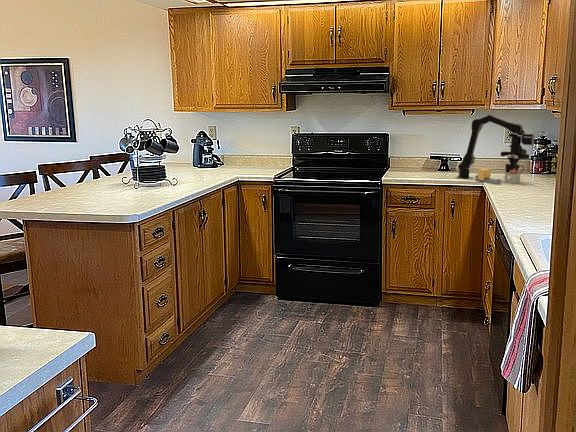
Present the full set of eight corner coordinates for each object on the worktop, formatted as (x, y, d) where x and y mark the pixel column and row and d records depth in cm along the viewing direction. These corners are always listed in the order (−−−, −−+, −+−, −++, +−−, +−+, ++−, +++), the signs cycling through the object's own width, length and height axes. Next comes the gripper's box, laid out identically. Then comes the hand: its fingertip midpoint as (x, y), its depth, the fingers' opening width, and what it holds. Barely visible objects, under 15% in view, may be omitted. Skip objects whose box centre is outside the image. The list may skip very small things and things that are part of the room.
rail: (475, 180, 388) (475, 175, 388) (478, 179, 390) (479, 175, 389) (496, 184, 372) (497, 179, 371) (500, 184, 373) (500, 179, 372)
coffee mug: (503, 178, 396) (504, 163, 394) (505, 177, 404) (506, 162, 401) (521, 180, 391) (523, 165, 389) (523, 178, 398) (524, 163, 396)
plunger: (507, 180, 381) (507, 170, 380) (512, 179, 383) (512, 170, 382) (512, 181, 378) (513, 171, 376) (517, 180, 379) (518, 171, 378)
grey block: (504, 182, 382) (504, 172, 381) (511, 181, 385) (512, 172, 384) (512, 183, 376) (513, 174, 375) (519, 183, 379) (520, 173, 378)
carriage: (477, 179, 385) (478, 169, 383) (484, 178, 387) (485, 168, 386) (483, 180, 380) (484, 170, 379) (489, 179, 383) (490, 169, 381)
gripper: (536, 145, 371) (534, 169, 374) (513, 142, 387) (511, 166, 390) (523, 145, 366) (521, 170, 369) (501, 143, 382) (498, 167, 385)
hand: (513, 168), depth 379 cm, fingers closed
